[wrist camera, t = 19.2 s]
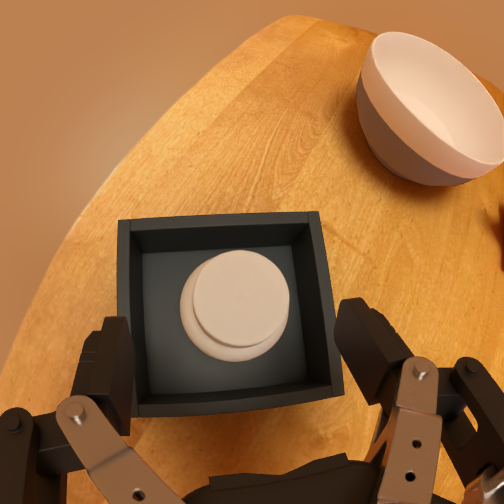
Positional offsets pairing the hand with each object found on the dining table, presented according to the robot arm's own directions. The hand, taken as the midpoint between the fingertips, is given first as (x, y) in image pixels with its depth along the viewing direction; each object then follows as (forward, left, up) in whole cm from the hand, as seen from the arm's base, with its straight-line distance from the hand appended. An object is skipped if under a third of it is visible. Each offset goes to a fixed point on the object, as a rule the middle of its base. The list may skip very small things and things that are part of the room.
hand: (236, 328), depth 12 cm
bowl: (+20, +17, -12) cm, 29 cm away
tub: (0, +1, -11) cm, 12 cm away
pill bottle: (0, +1, -11) cm, 11 cm away
